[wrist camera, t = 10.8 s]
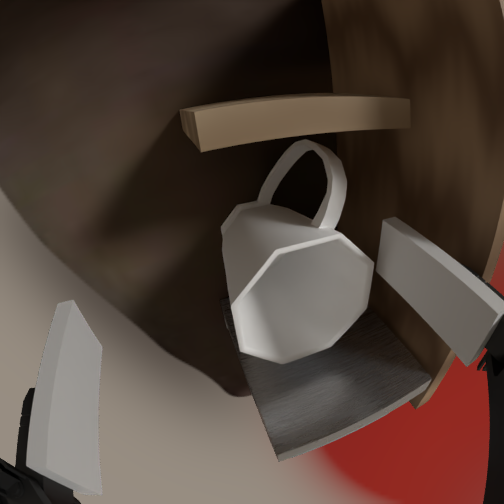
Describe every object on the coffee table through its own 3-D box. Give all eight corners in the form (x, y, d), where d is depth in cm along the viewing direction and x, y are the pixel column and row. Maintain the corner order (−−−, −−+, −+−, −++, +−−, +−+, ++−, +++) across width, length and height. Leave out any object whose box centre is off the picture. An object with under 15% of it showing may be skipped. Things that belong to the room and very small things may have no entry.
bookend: (219, 300, 21) (277, 455, 11) (331, 267, 22) (432, 378, 12) (225, 323, 22) (279, 467, 12) (330, 290, 24) (418, 400, 14)
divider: (179, 109, 14) (194, 111, 7) (313, 92, 15) (410, 99, 9) (182, 130, 15) (201, 152, 8) (315, 111, 16) (410, 128, 9)
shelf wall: (318, -16, 12) (473, -71, 2) (334, -14, 12) (489, -57, 2) (333, 304, 24) (415, 409, 14) (345, 300, 25) (428, 400, 15)
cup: (189, 273, 19) (213, 368, 12) (227, 117, 15) (284, 128, 8) (284, 281, 21) (338, 359, 15) (330, 149, 18) (422, 185, 11)
